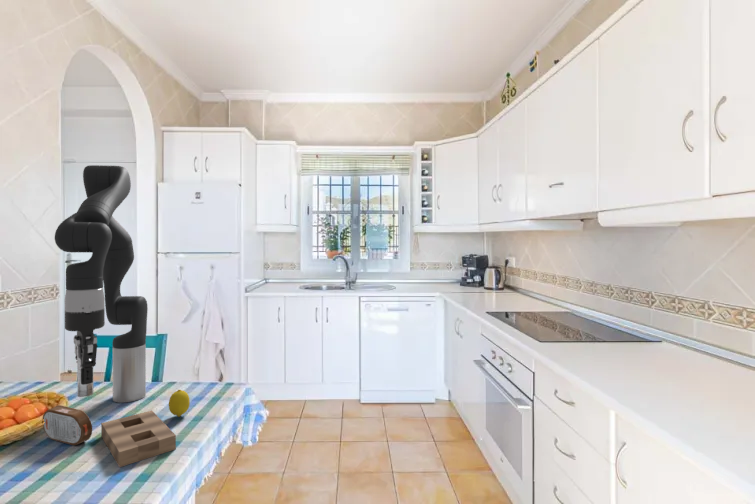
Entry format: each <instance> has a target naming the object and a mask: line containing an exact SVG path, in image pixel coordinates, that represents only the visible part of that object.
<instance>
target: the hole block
mask: <svg viewBox="0 0 755 504" xmlns="http://www.w3.org/2000/svg"><path fill="white" fill-rule="evenodd" d="M100 425H101V426H100V427H101V438H102V440H103V442H104V443H105V445H106V447H107V448H108V450H109V452H110V453H111V455H112V457H113V459H114V460H115V462H116V464H117V465H118V467H119V468H121V467H125V466H128V465H131V464H134V463H139V462H140V461H143V460H147V459H149V458H153V457H156V456H159V455H162V454H165V453H168V452H171V451H174V450H176V447H177V446H176V444H177V443H176V442H177V441H176V440H177V437H176V435H177V434H175V432H173V431H172V429H170V428H169V426H167V424H166V423H165V422H163V420H162V419H161V418H160V417H159V416H158V415H157V414H156V412H154V411H153V410H149V411H143V412H140V413H135V414H132V415H129V416H126V417H125V416H124V417H120V418H116V419H113V420H109V421H105V422H101V424H100Z"/></svg>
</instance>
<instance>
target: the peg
mask: <svg viewBox="0 0 755 504" xmlns="http://www.w3.org/2000/svg"><path fill="white" fill-rule="evenodd" d="M81 354H82V353H81ZM88 361H91V360H90V359H87V360H86V361H85V362H88ZM76 364H77V366H76V367H77V368H76V369H77V370H76V372H77V397H79V398H87V397H90V396H92V395H93V394H94V381H93V382H92V383H90V384H85V385H82V384H81V368H80V359H79V358H78V357H77V360H76Z"/></svg>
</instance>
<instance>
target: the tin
mask: <svg viewBox="0 0 755 504" xmlns="http://www.w3.org/2000/svg"><path fill="white" fill-rule="evenodd" d="M43 419H44V422H45V423H44V425H43V424H42V427H43V432H44V433H45V434H46V436H47V438H49V439H51V440H53V441H54V442H55V441H56V442H60V443H63V444H67V445H71V446H77V445H80V444H82V443H84V442H87V441H89V440H90V438H91V437H92V434H93V423H92V421H91V418H90V417H89V415H88V414H87V413H86V412H85V411H84V410H82V409H79V408H78V409H77V408H73V407H70V406H69V407H68V406H64V405H61V404H60V405H56V406H54V407H51V408H49V409H47V410H45V412H44V413H43V414H42V420H43Z"/></svg>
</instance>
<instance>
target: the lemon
mask: <svg viewBox="0 0 755 504" xmlns="http://www.w3.org/2000/svg"><path fill="white" fill-rule="evenodd" d="M190 402H191V401H190V397H189V394H188V392H187V391H185V390H182V389H177V391H174V392H173V393H172V394H171V395H170V397H169V400H168V410H169V412H170V413H171V414H172V415H174V416H177V417H178V418H180V417H181V416H183V415H184V414H185V413H187V411H188V410H189V408H190Z"/></svg>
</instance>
